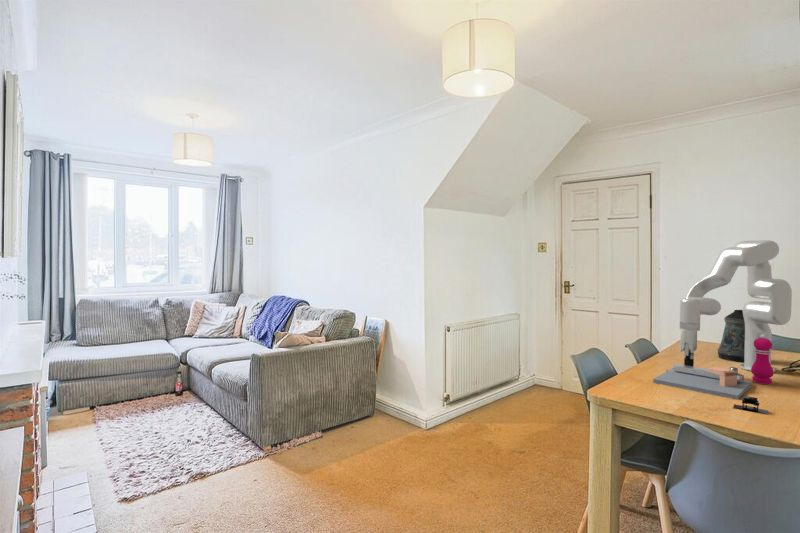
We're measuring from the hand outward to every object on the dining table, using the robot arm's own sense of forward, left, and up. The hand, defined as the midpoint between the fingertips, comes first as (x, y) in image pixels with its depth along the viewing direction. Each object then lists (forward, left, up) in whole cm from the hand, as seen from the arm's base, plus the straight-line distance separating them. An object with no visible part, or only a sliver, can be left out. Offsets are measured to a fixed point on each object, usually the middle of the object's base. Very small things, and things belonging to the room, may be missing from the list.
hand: (688, 367), depth 191 cm
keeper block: (+12, +14, -3) cm, 19 cm away
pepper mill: (-8, +24, -3) cm, 26 cm away
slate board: (+14, +8, -3) cm, 16 cm away
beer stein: (-52, +9, -3) cm, 53 cm away
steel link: (+6, +8, -1) cm, 10 cm away
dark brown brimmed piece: (+36, +27, -4) cm, 45 cm away
